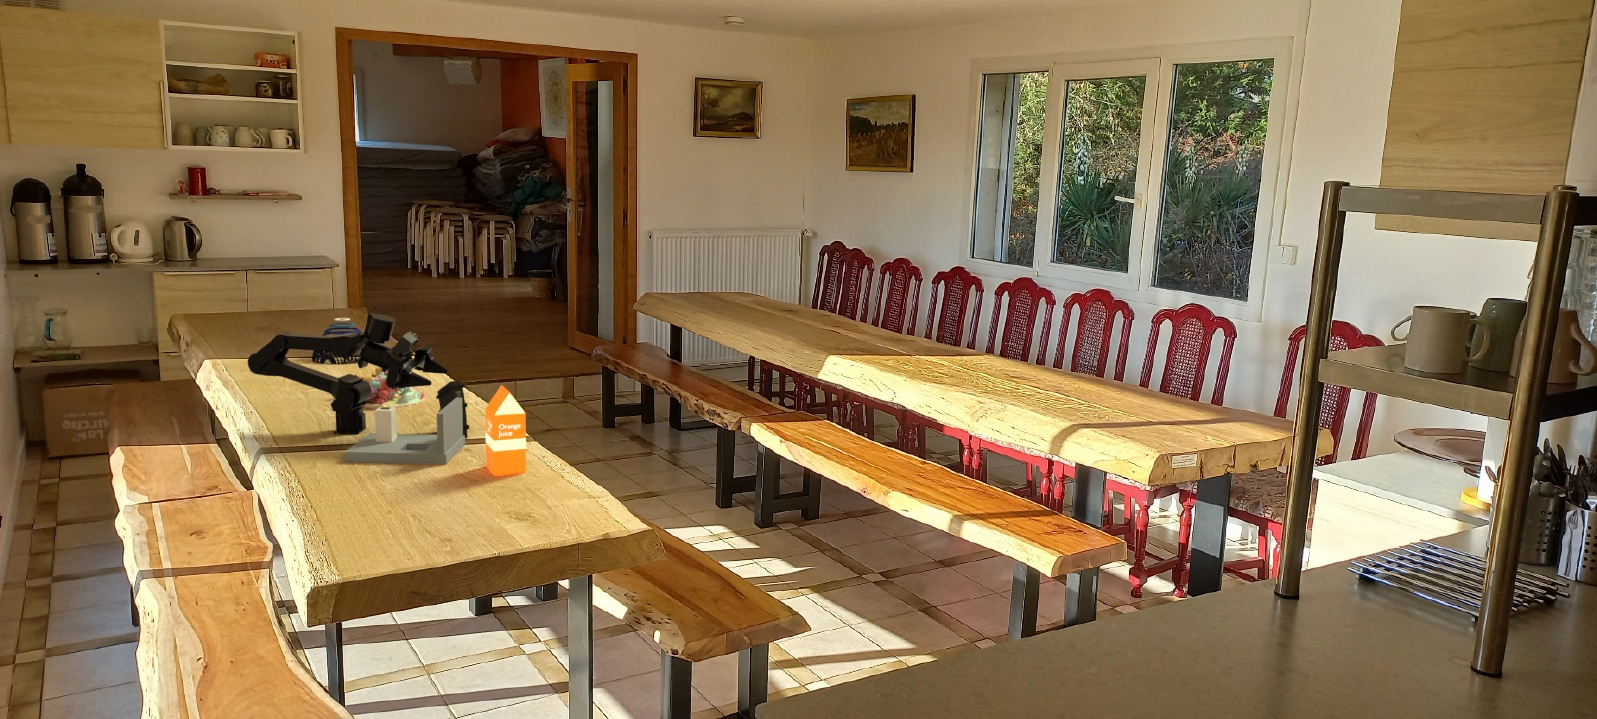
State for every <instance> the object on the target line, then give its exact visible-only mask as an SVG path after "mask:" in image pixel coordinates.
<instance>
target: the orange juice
mask: <svg viewBox="0 0 1597 719" xmlns="http://www.w3.org/2000/svg"><path fill="white" fill-rule="evenodd" d="M484 409H485V462H486V463H485V465H486V468H487V469H488V470H489V472H491V474H492V475H493V477H496V476H505V475H506V476H507V475H509V476H510V475H518V474H526V473H527V438H526V436H527V435H526V434H527V433H526V430H527V429H526V427H527V426H526V420H527V418H526V416H527V415H526V412H525V411H524V409H523V408H522V407H521V405H520V404H519V402H518V401H517V400H516V398H515V397H514V396H513V395H512V393H511V392H510V391H509V390H508V389H506V387H505V386H503V385H502V384H501V385H500V387H499V388H498V390H497V391H496V392H495V394H494V395H493V397H492V398H491V399H490V401H489V403H488V405H487V406H486V407H485V408H484Z"/></svg>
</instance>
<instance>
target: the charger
mask: <svg viewBox="0 0 1597 719" xmlns="http://www.w3.org/2000/svg"><path fill="white" fill-rule="evenodd" d="M397 423H398V422H397V408H396V407H379V408H378V409H374V425H375V426H374V428H375V430H374V431H375V432H374V433H376V442H393V441H394V440H395V439H396V438H397V434H398V428H397V427H398V424H397Z"/></svg>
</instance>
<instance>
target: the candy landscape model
mask: <svg viewBox="0 0 1597 719" xmlns="http://www.w3.org/2000/svg"><path fill="white" fill-rule="evenodd" d="M374 372H375V373H371V375H369V374H368V373H354V374H353V375H354V376H356V377H359V378H364V379H363V380H364V381H366V382H368V383H369V385H370V387H371V390H372V392H371V396H370V398H369V399H368V400H367V402H366V405H365V406H362V407H363V408H365V409H373V410H376V409H378V408H379V407H396V409H400V408H407V407H410V406H417V405H418V404H422V403H423V402H425V401H426V400H427V397H426V395H425V393H424V391H422V392H420V391H419V390H418V389H417V388H415V387H406V388H401V389H399V388H397V389H395V390H394V389H391V388H388V386H387V385H386V377H387V372H388V371H387V372H382V368H380V367H378V366H375V369H374Z"/></svg>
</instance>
